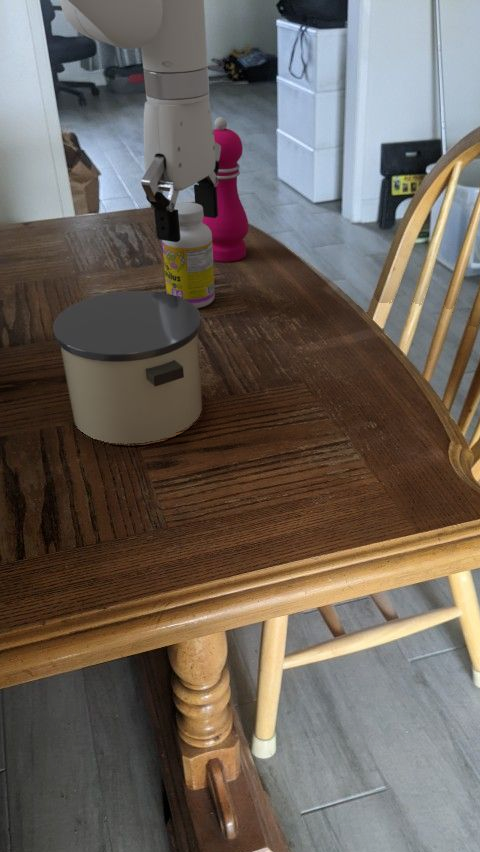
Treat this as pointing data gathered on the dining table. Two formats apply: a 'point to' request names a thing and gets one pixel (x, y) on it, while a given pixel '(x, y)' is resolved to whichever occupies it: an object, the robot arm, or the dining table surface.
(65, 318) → the pot
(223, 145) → the pepper mill
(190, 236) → the supplement bottle
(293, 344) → the dining table surface
